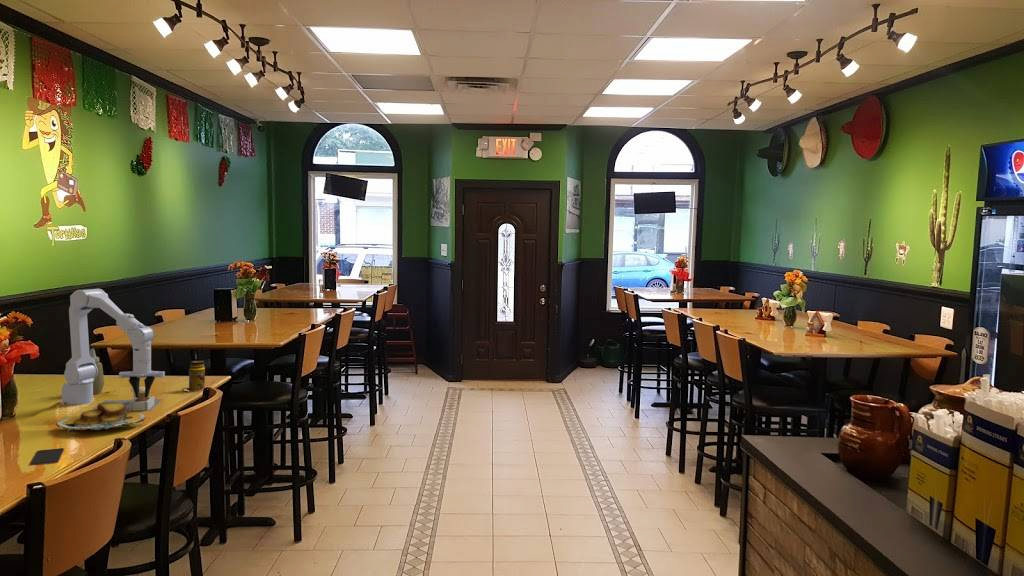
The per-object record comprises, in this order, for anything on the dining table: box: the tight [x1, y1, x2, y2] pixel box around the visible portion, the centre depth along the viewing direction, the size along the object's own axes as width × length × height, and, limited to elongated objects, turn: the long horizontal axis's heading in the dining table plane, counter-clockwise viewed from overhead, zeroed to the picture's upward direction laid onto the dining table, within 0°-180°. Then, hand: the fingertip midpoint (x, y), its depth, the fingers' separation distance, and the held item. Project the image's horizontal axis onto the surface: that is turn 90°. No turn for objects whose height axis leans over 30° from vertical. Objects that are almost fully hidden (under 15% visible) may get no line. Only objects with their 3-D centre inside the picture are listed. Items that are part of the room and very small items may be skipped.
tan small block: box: [138, 391, 149, 402], centre depth 241 cm, size 2×4×5 cm, turn 15°
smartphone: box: [28, 447, 65, 466], centre depth 190 cm, size 7×1×14 cm
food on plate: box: [55, 402, 147, 432], centre depth 221 cm, size 25×25×7 cm
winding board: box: [91, 386, 164, 412], centre depth 242 cm, size 20×17×6 cm
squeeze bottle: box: [89, 348, 105, 395], centre depth 263 cm, size 8×8×18 cm
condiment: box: [182, 360, 206, 393], centre depth 276 cm, size 7×8×12 cm
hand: (142, 397), depth 240 cm, fingers closed on tan small block, 2 cm apart
